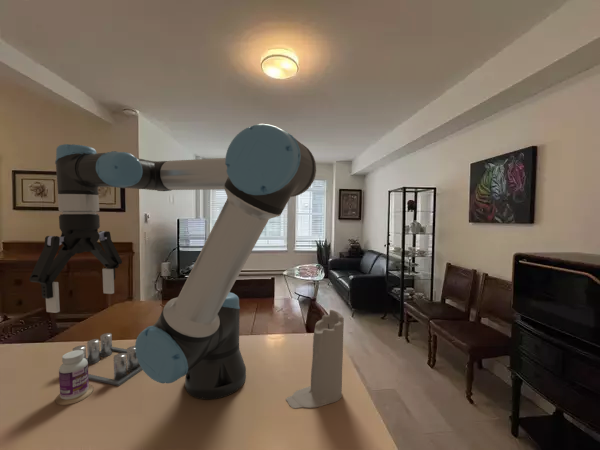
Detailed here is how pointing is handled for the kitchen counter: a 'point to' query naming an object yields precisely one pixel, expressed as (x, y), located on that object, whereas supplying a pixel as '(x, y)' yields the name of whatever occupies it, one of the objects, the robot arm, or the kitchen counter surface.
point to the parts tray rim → (112, 381)
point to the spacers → (106, 350)
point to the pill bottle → (73, 375)
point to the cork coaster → (75, 400)
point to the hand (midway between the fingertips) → (83, 301)
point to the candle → (324, 365)
